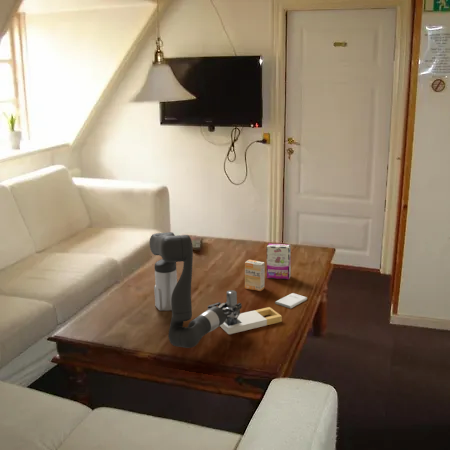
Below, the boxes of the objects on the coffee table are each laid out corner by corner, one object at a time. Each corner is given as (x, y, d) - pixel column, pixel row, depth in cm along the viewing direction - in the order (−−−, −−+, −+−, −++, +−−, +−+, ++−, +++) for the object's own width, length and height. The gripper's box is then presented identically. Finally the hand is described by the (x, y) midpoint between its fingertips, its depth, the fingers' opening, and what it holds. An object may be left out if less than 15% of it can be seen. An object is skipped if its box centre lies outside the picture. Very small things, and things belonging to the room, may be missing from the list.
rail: (228, 334, 226) (228, 328, 225) (217, 324, 234) (217, 318, 234) (281, 321, 235) (281, 316, 235) (269, 312, 244) (269, 306, 243)
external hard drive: (275, 304, 253) (292, 295, 262) (290, 309, 248) (307, 300, 256) (275, 301, 253) (292, 292, 261) (290, 306, 247) (307, 297, 256)
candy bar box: (290, 276, 284) (291, 244, 279) (289, 279, 279) (289, 247, 274) (268, 274, 286) (268, 242, 282) (266, 278, 282) (266, 246, 277)
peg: (229, 330, 229) (229, 295, 225) (225, 326, 233) (224, 291, 228) (238, 328, 231) (238, 293, 226) (234, 324, 234) (233, 289, 230)
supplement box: (244, 288, 269) (244, 262, 266) (248, 285, 273) (248, 259, 270) (260, 291, 266) (260, 264, 262) (264, 288, 270) (264, 261, 266)
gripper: (226, 314, 213) (250, 298, 226) (195, 306, 221) (220, 291, 234) (226, 333, 215) (250, 316, 229) (195, 324, 223) (221, 308, 236)
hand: (235, 303), depth 231 cm, fingers closed on peg, 4 cm apart
